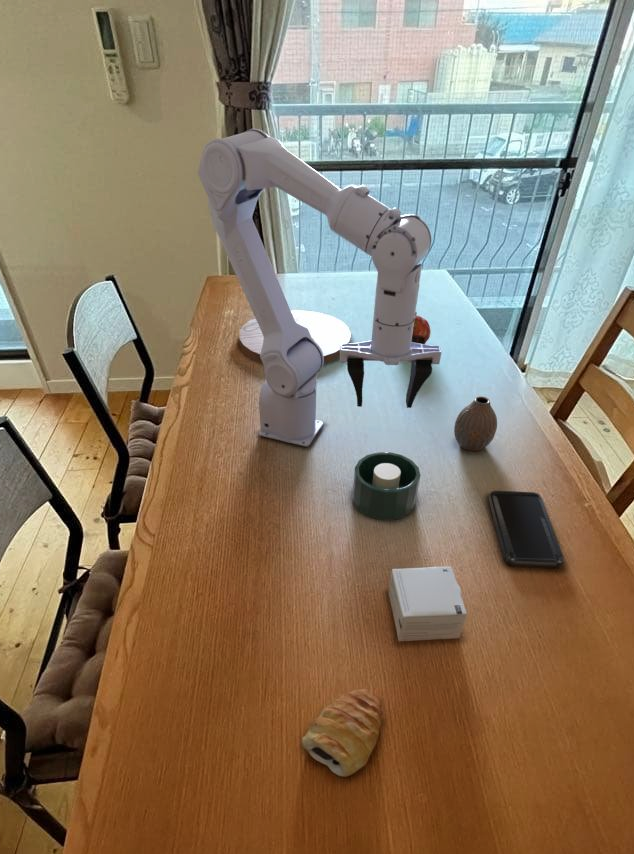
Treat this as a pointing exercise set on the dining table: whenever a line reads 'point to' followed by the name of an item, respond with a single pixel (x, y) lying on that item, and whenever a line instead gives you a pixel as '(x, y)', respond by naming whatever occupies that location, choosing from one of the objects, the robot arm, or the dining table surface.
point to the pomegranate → (420, 330)
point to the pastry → (345, 732)
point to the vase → (476, 425)
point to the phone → (524, 530)
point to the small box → (426, 603)
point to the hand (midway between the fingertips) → (383, 403)
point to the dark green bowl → (385, 500)
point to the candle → (386, 476)
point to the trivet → (320, 327)
